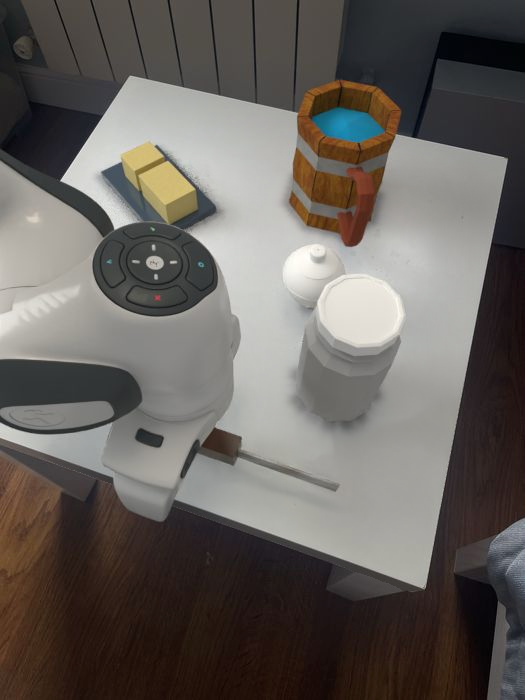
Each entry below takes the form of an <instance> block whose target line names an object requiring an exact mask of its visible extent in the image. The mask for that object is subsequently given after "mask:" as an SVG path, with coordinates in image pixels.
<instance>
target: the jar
mask: <svg viewBox="0 0 525 700" xmlns="http://www.w3.org/2000/svg"><path fill="white" fill-rule="evenodd" d="M406 318H407V314H406V309H405V305H404V301H403V298H402V296H401V295H400V294H399V293H398V292H397V290H396V289H394V288H393V287H392V286H391V284H390V283H389V282H387V280H384V279H381V278H378V277H375V276H373V275H370V274H368V273H351V274H348V273H347V274H346V275H342V276H340V277H339V278H337V279H335V280H333V281H332V282H330V283H328V284H327V285H326V286H325V288H324V290H323V292H322V294H321V296H320V298H319V300H318V301H317V306H316V307H313V310H312V311H311V314H310V316H309V318H308V320H307V321H306V324H305V326H304V331H303V332H304V333H303V337H302V341H301V347H300V348H301V349H300V353H299V359H298V364H297V368H296V374H295V375H296V376H295V381H296V390H297V397H298V398H299V400H301V402H302V403H303V404H304V406H305V407H306V408H307V410H308V411H309V412H310V413H311V414H313V415H315V416H317V417H320V418H322V419H324V420H327V421H329V422H343V421H353V420H354V419H356V418H358V417H359V416H361V415H363V413H364V412H365V413H366V411H367V410H369V409H370V408H371V406H372V404H373V402H374V400H375V398H376V396H377V394H378V392H379V390H380V388H381V387H382V385H383V383H384V381H385V379H386V377H387V375H388V374H389V372H390V369H391V367H392V365H393V364H394V361H395V359H396V356H397V354H398V351H399V349H400V347H401V344H402V339H401V336H400V334H401V331H402V328H403V326H404V324H405V321H406Z"/></svg>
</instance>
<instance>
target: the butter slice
mask: <svg viewBox="0 0 525 700" xmlns="http://www.w3.org/2000/svg"><path fill="white" fill-rule="evenodd" d="M119 156H120V157H119V158H120V160H121V161H120V162H122V165H123V168H124V172H125V176H126V177H127V178H128V179H129V181H130V182H131V183H132V184H133V185H134V186H135V187H136V188H137V190H138V191H142V189H141V185H140V180H139V176H138V175H140V174H142V173H144V172H146V171H148V170H150V169H152V168H154V167H156V166H158V165H160V164H162V163H164V162H165V159H164V156H163V155H162V154H161V153H160V152H159V151H158V150H157V149H156V147H155V145H154V144H153V143H152V142H151V141H150V140H149V141H146V142H144V143H143V144H140V145H138V146H136V147H134V148H133V149H129V150H128V151H126V152H123V153H121V154H120V155H119Z"/></svg>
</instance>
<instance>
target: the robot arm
mask: <svg viewBox="0 0 525 700" xmlns="http://www.w3.org/2000/svg"><path fill="white" fill-rule="evenodd" d="M112 221H113V220H112V219H111V217H110V216H109V215H108V213H107V211H105V209H104V208H103V207H102V206H101V205H100V204H99V203H98V202H97V201H95V200H94V199H93V198H92V197H90V196H89V195H88V194H86V193H84V192H83V191H81V190H80V189H79V188H77V187H74V186H73V185H70V184H68V183H66V182H63V181H61V180H59V179H57V178H54V177H52V176H51V175H48V174H45V173H43V172H41V171H38V170H37V169H35V168H33V167H31V166H29V165H27V164H25V163H23V162H21V161H20V160H18V159H16V157H14V156H12V155H10V154H9V153H7V152H6V151H4V150H3V149H1V148H0V424H2V425H4V426H6V427H9V428H10V429H12V430H13V429H14V430H16V431H19V432H24V433H28V434H33V435H66V434H76V433H81V432H86V431H89V430H94V429H97V428H101V427H104V426H107V425H109V424H111V427H110V428H109V433H108V435H107V438H106V441H105V445H104V447H103V450H102V454H101V464H102V465H103V467H105V468H106V469H108V470H110V471H112V472H113V475H112V476H113V477H112V482H113V488H114V490H115V492H116V495H117V497H118V499H119V500H120V502H121V503H122V505H123V506H124V508H126V510H128V511H130V512H132V513H134V514H136V515H139V516H141V517H143V518H147V519H150V520H153V521H155V522H159V523H160V522H161V523H162V522H164V521H165V520H166V519H167V517H169V514H170V512H171V509H172V505H173V504H174V502H175V499H176V497H177V494H178V493H179V490H180V488H181V485H182V483H183V481H184V479H185V478H186V477H187V475H188V472H189V470H190V468H191V466H192V465H193V462H194V460H195V458H196V456H197V454H198V451H199V448H200V447H201V445H202V444H203V442H204V441H205V439H206V438H207V437H208V436H209V434H210V433H211V432H212V430H213V429H214V427H215V428H216V425H217V423H218V422H219V421H220V420H221V419H222V418H223V417H224V416H225V415H226V413H227V412H228V410H229V408H230V406H231V403H232V401H233V397H234V390H235V381H234V379H235V376H234V360H235V358H236V355H237V353H238V350H239V349H240V344H241V340H242V339H241V338H242V332H241V325H240V320H239V318H238V317H239V316H237V315H236V314H233V313H232V307H231V299H230V295H229V289H228V286H227V282H226V279H225V277H224V274H223V272H222V269H221V267H220V265H219V263H218V262H217V259H216V258H215V257H214V255H213V253H211V251H210V250H209V249H208V248H207V247H206V246H205V245H204V243H202V241H201V240H199V239H197V238H196V237H195V236H194V235H192V234H191V233H189V232H188V231H186V230H185V229H184V230H182V229H180V228H178V227H175V226H173V225H169V224H165V223H160V222H140V221H137V222H131V223H128V224H125V225H122V226H119V227H118V228H115V226H114V224H113V222H112Z"/></svg>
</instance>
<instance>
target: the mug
mask: <svg viewBox="0 0 525 700" xmlns="http://www.w3.org/2000/svg"><path fill="white" fill-rule="evenodd" d="M301 102H302V103H301V105H300V108H299V110H298V113H297V115H296V126H297V136H296V144H295V145H296V147H295V152H294V156H293V162H292V186H291V193H290V196H289V200H288V203H289V205H290V206H291V207H292V209H293V210H294V211H295V213H296V214H297V215H298V217H299V218H300V219H301V221H302V222H303V223H304V224H305V225H306V227H309V228H310V227H311V228H314V229H319V230H323V231H327V232H332V233H336V234H340V240H341V241H342V243H343V245H344V246H345V247H347V248H352V247H357V246H358V245H359V244H360V243H362V240H363V239H364V235H365V233H366V230H367V226H368V223H369V222H371V221H372V218H373V213H374V208H375V205H376V200H377V195H378V192H379V190H380V188H381V186H382V183H383V179H384V175H385V170H386V166H387V162H388V157H389V152H390V150H391V148H392V146H393V144H394V141H395V139H396V136H397V131H398V127H399V124H400V119H401V114H402V109H401V108H400V107H399V105H397V104H396V103H394V101H393V100H392V99H390V97H389V96H388V95H387V94H385V92H384V91H383V90H382V89H380V87H378V86H374V85H369V84H364V83H359V82H355V81H354V82H353V81H348V80H343V79H337V80H334V81H331V82H329V83H326V84H323V85H320V86H317V87H315V88H312V89H308V90H306V91H305V94H304V97H303V99H302V101H301Z"/></svg>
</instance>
